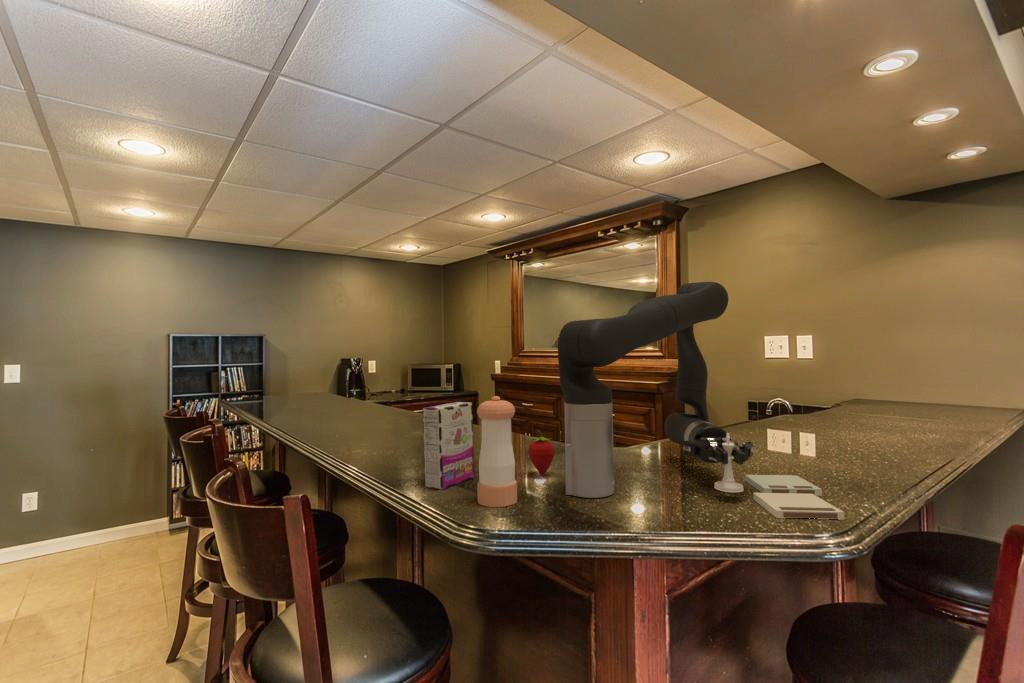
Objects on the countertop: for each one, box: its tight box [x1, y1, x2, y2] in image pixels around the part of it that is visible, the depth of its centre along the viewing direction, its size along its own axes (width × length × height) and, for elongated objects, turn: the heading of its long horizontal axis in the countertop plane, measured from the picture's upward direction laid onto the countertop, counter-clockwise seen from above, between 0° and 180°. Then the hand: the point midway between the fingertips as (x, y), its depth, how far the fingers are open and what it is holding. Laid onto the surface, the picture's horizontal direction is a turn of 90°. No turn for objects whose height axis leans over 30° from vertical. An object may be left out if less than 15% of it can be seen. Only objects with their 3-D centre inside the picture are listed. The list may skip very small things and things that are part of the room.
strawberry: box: [527, 429, 556, 476], centre depth 107 cm, size 6×8×10 cm
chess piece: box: [713, 432, 745, 493], centre depth 88 cm, size 5×5×10 cm
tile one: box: [752, 492, 845, 521], centre depth 82 cm, size 10×10×1 cm
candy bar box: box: [422, 401, 475, 490], centre depth 103 cm, size 11×5×16 cm, turn 148°
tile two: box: [744, 474, 823, 497], centre depth 94 cm, size 10×10×1 cm
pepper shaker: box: [476, 395, 518, 508], centre depth 89 cm, size 7×7×19 cm
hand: (733, 458), depth 85 cm, fingers closed on chess piece
